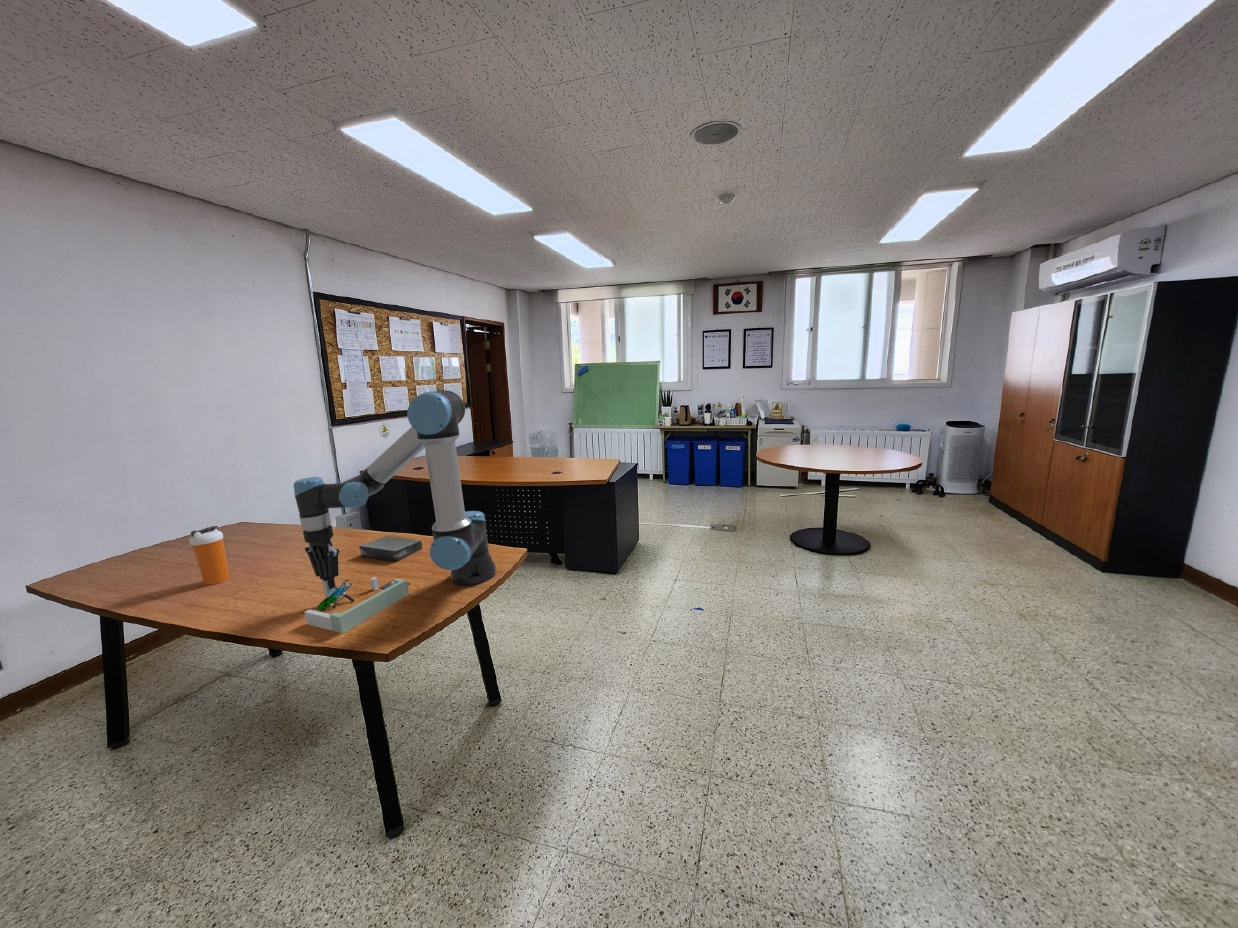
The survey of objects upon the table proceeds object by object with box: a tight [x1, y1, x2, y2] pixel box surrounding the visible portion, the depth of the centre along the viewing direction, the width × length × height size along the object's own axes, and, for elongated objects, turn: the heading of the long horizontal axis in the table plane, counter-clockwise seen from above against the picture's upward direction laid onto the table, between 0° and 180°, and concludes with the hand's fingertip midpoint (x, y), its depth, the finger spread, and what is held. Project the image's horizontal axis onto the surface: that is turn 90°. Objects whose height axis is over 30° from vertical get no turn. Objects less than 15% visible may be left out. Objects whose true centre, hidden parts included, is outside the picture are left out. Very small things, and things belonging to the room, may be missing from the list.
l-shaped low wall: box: [304, 576, 394, 632], centre depth 136 cm, size 11×23×4 cm, turn 158°
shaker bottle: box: [188, 525, 231, 586], centre depth 159 cm, size 9×9×20 cm
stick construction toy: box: [316, 579, 356, 612], centre depth 139 cm, size 12×7×8 cm
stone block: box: [359, 535, 423, 563], centre depth 179 cm, size 14×20×5 cm
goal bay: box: [329, 578, 410, 634], centre depth 133 cm, size 4×23×5 cm, turn 158°
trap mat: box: [379, 579, 411, 590], centre depth 150 cm, size 8×6×1 cm
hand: (331, 596), depth 141 cm, fingers closed
